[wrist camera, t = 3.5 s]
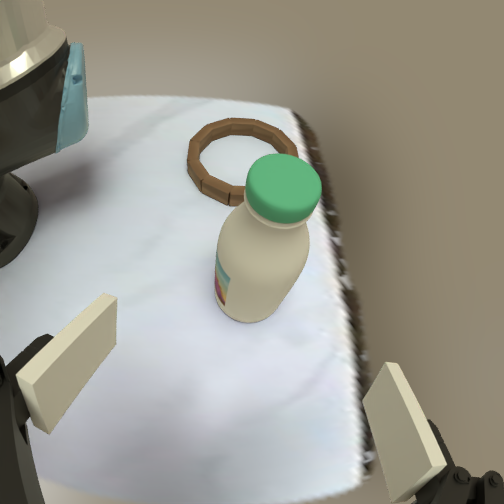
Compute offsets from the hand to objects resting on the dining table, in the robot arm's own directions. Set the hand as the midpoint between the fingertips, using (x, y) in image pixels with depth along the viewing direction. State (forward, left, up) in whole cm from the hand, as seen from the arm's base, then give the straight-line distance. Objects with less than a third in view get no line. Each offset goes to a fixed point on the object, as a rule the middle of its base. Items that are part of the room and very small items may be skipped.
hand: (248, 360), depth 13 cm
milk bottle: (+3, +10, -20) cm, 22 cm away
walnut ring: (+3, +30, -19) cm, 36 cm away
